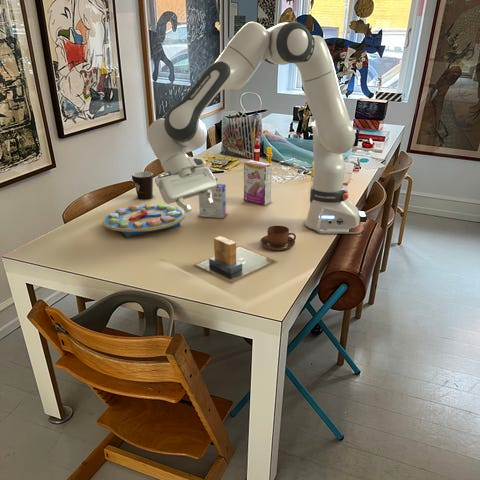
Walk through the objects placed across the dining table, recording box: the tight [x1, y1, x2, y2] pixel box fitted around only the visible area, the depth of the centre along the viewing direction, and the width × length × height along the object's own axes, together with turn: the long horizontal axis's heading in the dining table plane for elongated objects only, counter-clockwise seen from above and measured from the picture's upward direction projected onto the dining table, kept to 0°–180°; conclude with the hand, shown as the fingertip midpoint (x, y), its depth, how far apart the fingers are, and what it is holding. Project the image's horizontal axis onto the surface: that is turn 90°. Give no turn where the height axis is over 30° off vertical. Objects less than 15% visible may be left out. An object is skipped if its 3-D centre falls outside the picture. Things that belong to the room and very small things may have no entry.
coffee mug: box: [131, 171, 154, 201], centre depth 209 cm, size 12×9×10 cm
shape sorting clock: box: [102, 203, 185, 238], centre depth 182 cm, size 31×30×6 cm
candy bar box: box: [243, 159, 273, 206], centre depth 201 cm, size 11×5×16 cm, turn 53°
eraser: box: [208, 235, 242, 274], centre depth 149 cm, size 10×5×9 cm, turn 45°
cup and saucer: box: [260, 225, 297, 251], centre depth 165 cm, size 12×12×6 cm
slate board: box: [195, 246, 275, 282], centre depth 154 cm, size 20×16×1 cm
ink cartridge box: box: [198, 177, 227, 219], centre depth 188 cm, size 10×6×14 cm, turn 78°
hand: (200, 207), depth 151 cm, fingers open, 8 cm apart
